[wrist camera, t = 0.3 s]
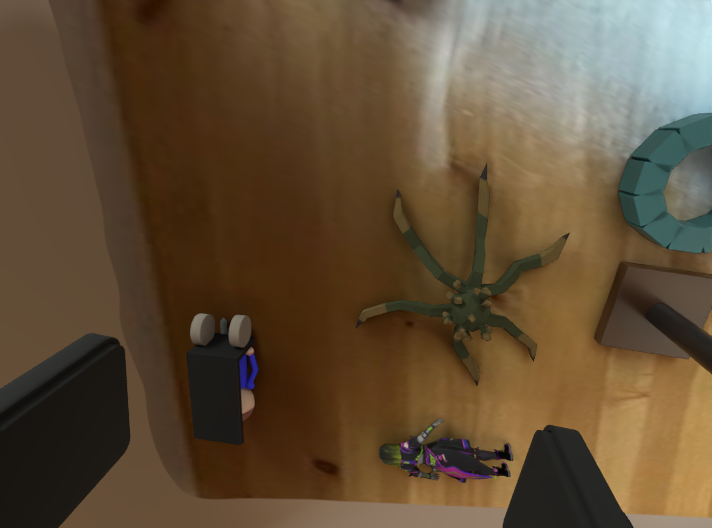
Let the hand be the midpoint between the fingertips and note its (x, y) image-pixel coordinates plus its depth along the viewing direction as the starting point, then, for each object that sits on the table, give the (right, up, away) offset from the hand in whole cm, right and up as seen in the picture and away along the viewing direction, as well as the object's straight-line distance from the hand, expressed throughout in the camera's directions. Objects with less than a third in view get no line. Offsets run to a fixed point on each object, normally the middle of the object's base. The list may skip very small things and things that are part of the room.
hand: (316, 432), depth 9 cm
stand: (+32, -1, +34) cm, 46 cm away
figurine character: (-14, -8, +43) cm, 46 cm away
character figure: (+12, -20, +43) cm, 49 cm away
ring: (+32, +11, +29) cm, 45 cm away
